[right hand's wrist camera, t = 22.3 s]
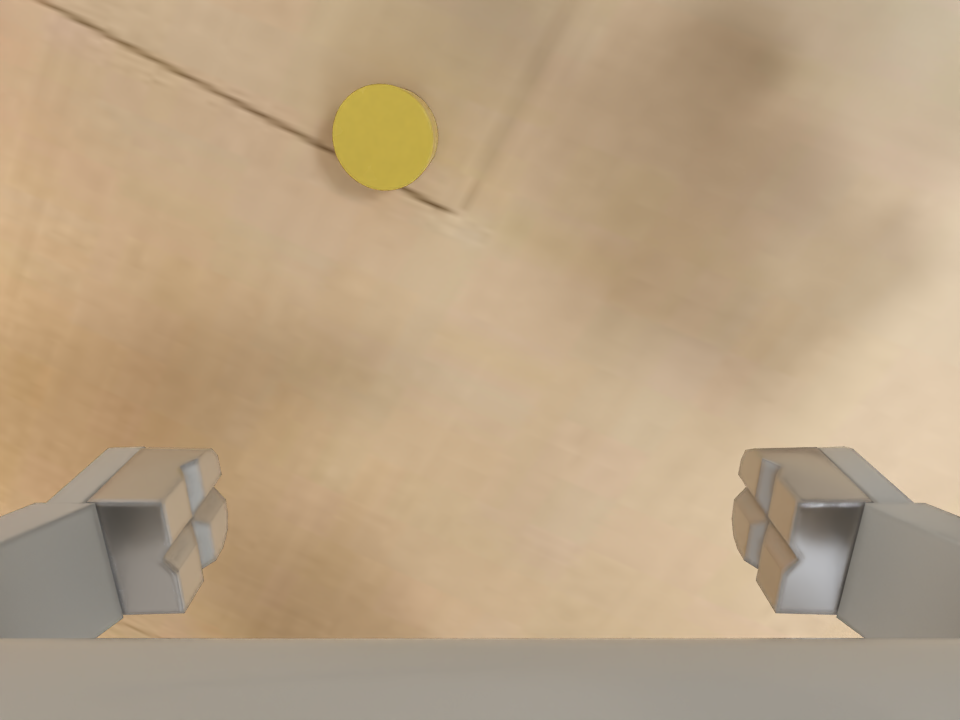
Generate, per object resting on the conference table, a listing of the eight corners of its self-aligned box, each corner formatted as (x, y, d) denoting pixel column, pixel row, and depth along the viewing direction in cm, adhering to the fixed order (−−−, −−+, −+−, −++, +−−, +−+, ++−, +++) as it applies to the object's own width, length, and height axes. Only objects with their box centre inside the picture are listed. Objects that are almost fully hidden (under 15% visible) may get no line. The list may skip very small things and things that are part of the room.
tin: (428, 79, 33) (422, 75, 29) (445, 173, 34) (442, 181, 30) (338, 95, 33) (320, 93, 29) (359, 188, 34) (345, 198, 31)
